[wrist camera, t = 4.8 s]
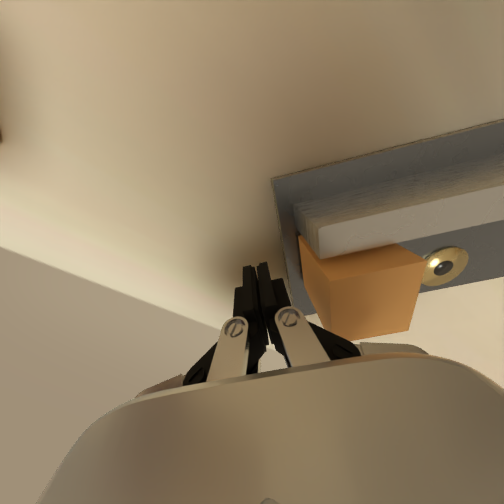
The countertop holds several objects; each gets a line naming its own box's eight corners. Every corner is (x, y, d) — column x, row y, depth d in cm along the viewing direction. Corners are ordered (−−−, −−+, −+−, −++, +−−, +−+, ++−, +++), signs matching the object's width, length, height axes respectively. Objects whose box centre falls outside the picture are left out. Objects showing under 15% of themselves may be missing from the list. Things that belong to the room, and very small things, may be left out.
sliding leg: (298, 235, 12) (329, 281, 8) (357, 222, 12) (427, 260, 7) (307, 317, 16) (332, 379, 11) (353, 308, 15) (397, 368, 11)
